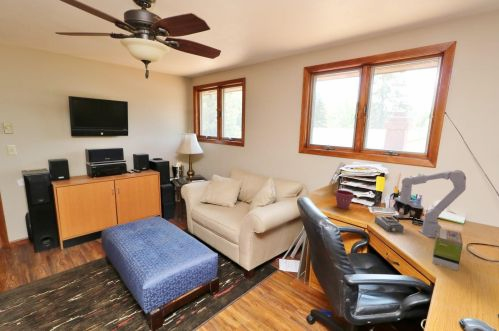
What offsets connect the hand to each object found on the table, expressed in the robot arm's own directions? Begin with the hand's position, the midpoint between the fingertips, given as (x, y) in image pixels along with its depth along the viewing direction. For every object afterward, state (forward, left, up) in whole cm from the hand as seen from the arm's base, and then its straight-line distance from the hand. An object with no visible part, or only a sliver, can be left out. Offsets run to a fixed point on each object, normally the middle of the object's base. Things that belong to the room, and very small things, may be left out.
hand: (402, 213), depth 159 cm
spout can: (0, 0, -2) cm, 2 cm away
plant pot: (+34, +27, -9) cm, 44 cm away
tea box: (-42, +4, -9) cm, 43 cm away
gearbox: (-2, +10, -9) cm, 13 cm away
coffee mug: (+15, -19, -9) cm, 26 cm away
